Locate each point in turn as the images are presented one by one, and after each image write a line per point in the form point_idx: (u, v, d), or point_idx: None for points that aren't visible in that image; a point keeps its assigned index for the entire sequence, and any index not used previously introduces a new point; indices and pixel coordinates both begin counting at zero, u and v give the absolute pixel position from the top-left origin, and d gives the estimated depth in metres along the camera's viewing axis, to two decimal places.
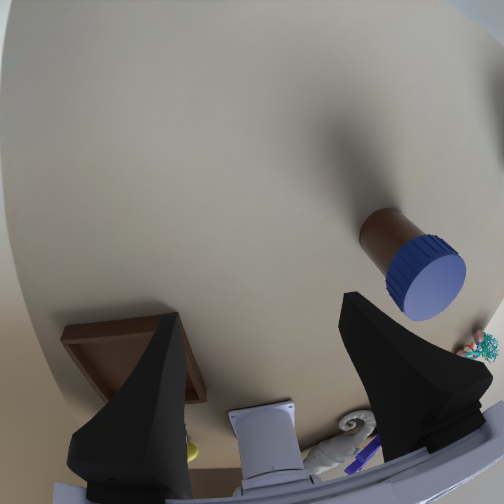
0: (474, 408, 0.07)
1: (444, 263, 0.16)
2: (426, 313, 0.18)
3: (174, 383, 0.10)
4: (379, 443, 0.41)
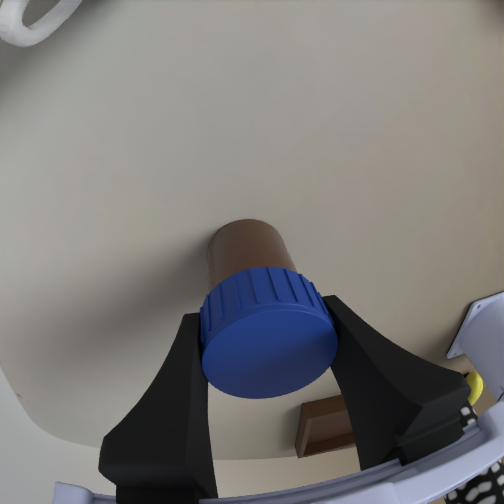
0: (452, 420, 0.07)
1: (217, 368, 0.11)
2: (320, 358, 0.12)
3: (200, 381, 0.10)
4: None
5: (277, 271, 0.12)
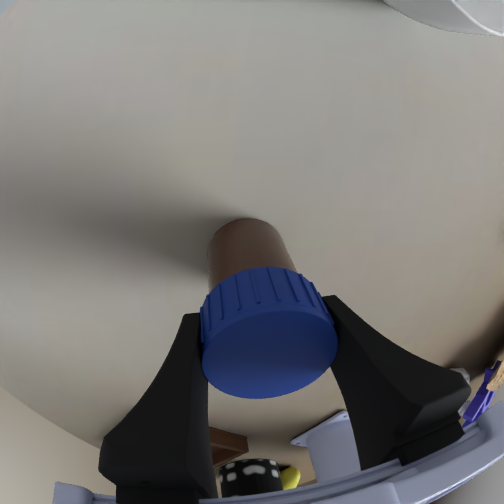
0: (452, 420, 0.07)
1: (217, 368, 0.11)
2: (320, 358, 0.12)
3: (200, 381, 0.10)
4: None
5: (277, 271, 0.12)
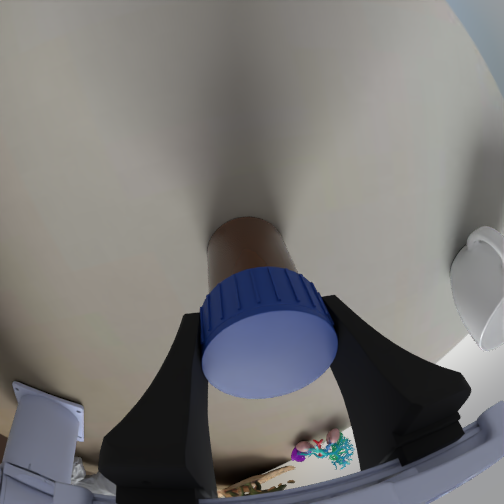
0: (452, 420, 0.07)
1: (217, 368, 0.11)
2: (320, 358, 0.12)
3: (200, 381, 0.10)
4: None
5: (277, 271, 0.12)
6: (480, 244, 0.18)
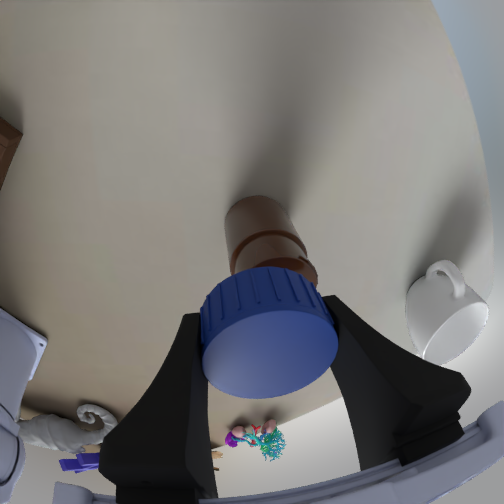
0: (452, 420, 0.07)
1: (218, 368, 0.11)
2: (320, 358, 0.12)
3: (200, 381, 0.10)
4: None
5: (277, 271, 0.12)
6: (437, 275, 0.25)
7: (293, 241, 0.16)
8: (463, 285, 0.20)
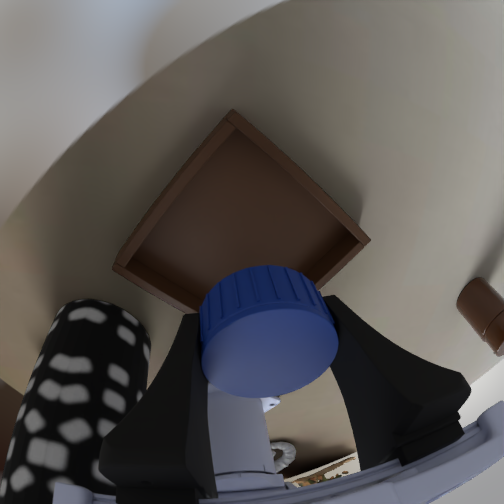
0: (452, 420, 0.07)
1: (217, 367, 0.11)
2: (321, 357, 0.11)
3: (200, 381, 0.10)
4: None
5: (277, 270, 0.12)
6: None
7: None
8: None
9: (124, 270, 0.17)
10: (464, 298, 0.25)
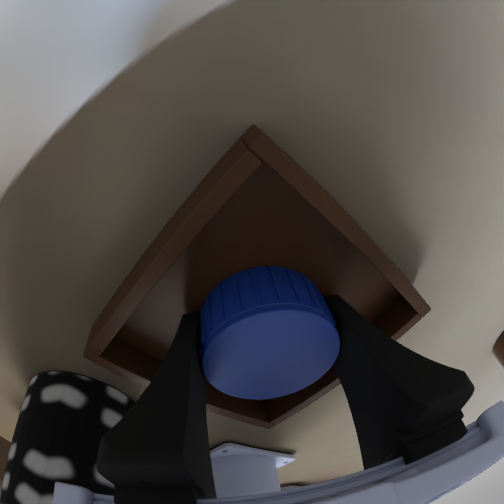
0: (456, 418, 0.07)
1: (218, 368, 0.11)
2: (322, 358, 0.11)
3: (198, 381, 0.10)
4: None
5: (278, 270, 0.12)
6: None
7: None
8: None
9: (100, 359, 0.11)
10: (503, 343, 0.19)
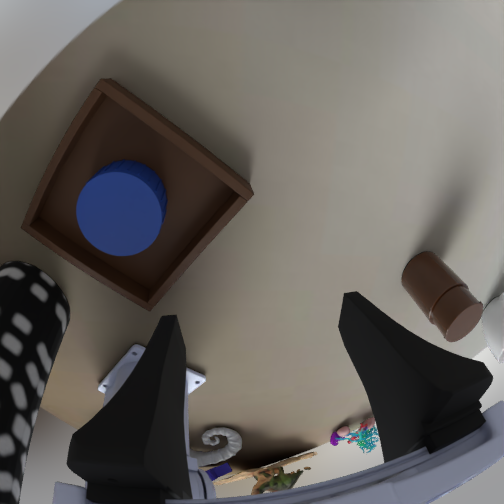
0: (474, 408, 0.07)
1: (86, 220, 0.16)
2: (150, 216, 0.17)
3: (174, 383, 0.10)
4: (216, 476, 0.37)
5: (128, 161, 0.17)
6: None
7: (468, 290, 0.20)
8: None
9: (29, 228, 0.17)
10: (408, 274, 0.25)
